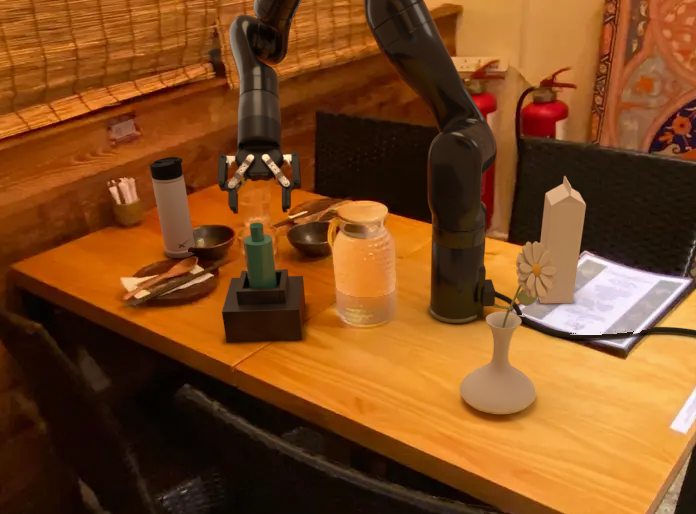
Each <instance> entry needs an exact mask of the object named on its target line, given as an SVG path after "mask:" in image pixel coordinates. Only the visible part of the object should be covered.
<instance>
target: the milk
mask: <svg viewBox="0 0 696 514" xmlns="http://www.w3.org/2000/svg"><path fill="white" fill-rule="evenodd" d="M586 209H587V204H586V202H585V200H584V199H583V197H582V195H581V194H580V192H579V191H578V190H575V189H574V188H573V187H572V185H571V184H570V182H569V180H568V178H567V176H566V175H564V176H563V181H562V184H559V185H557V186H556V187H554V188H552V189H550V190H549V191H547V192H545V195H544V204H543V213H542V223H541V234H540V242H539V243H542V245H543V246H544V250H546V251H549V252H550V253H551V258H552V260H553V261H554V266H553V267H554V268H556V270H557V273H556V274H555V275H553V276H554V278H555V283H554V284H553V290H549V289H547V291H548V293H547V297H546V298H544V297H542V298H539V297H538V298H537V299H538V301H539V304H573V302H574V295H575V288H576V280H577V273H578V267H579V259H580V251H581V244H582V238H583V231H584V222H585V217H586V216H585V214H586Z"/></svg>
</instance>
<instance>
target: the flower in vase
mask: <svg viewBox="0 0 696 514" xmlns="http://www.w3.org/2000/svg"><path fill="white" fill-rule="evenodd" d="M515 266H516V267H517V268H516V269H515V271H516V272H515V273H516V275H517V284H518V286H517V289H516V292H515V294H514V296H513V299H512V302H511V305H510V304H509V306H506V305H499V304H498V303H496V302H495V303H494V306H492V307H493V308H495V309H503V310H507V311H495V312H492V313H490V314H488V315H487V316H486V317H485V322H486V324H487V325H488V326H489V328H490V330H491V333H492V340H493V341H492V342H493V349H492V351H493V352H492V357H491V360H490V362H488V363H487V364H484V365H482V366H479V367H477V368H475V369H473V370H472V371H471V372H469V373H468V374H466V375H465V376H464V378H463V379H462V382H461V384H460V386H459V393H460V395H461V397H462V399H463V400H464V401H465V402H466V404H468V405H469V406H470V407H471V408H473V409H475V410H477V411H480V412H482V413H486V414H493V415H509V414H516V413H518V412H521V411H523V410H525V409H526V408H528V407H529V406H530V405H532V404H533V402H534V401H535V399H536V396H537V391H536V388H535V385H534V382H533V381H532V379H531V378H530V377H529V376H528V375H526V374H525V373H524V372H523V371H522V370H520V369H518V368H517V367H515V366H513V365H511V363H510V359H509V353H510V345H511V340H512V338H513V334H514V332H515V331H516V329H517V328H518V327H519V326H520V325H521V324H522V320H521V318H520V317H519V316H518V315H517V314H515V313H513V312H511V310H512V309H513V307H512V306H513V304H514V302H516V299H517V301H518V302H519V303H520V304H521V305H522V306H524V307H528V306H531V305H533V304H534V303H536V301H537V300H538V299H539V298H542V297H544V298H546V297H547V293H548V291H547V289H549V290H553V284H554V283H555V278H554V276H553V275H555V274H556V273H557V270H556V268H554V267H553V266H554V261H553V260H552V258H551V253H550V252H549V251H546V250H544V246H543V245H542V243H540V242H538V241H534V242H533V243H532V242H530V241H527V242H526V243H525V244H524V245H523V246H522V248H521V252H518V253H517V258H516V261H515ZM538 297H539V298H538Z"/></svg>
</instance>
